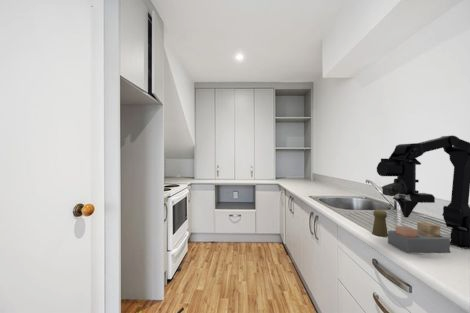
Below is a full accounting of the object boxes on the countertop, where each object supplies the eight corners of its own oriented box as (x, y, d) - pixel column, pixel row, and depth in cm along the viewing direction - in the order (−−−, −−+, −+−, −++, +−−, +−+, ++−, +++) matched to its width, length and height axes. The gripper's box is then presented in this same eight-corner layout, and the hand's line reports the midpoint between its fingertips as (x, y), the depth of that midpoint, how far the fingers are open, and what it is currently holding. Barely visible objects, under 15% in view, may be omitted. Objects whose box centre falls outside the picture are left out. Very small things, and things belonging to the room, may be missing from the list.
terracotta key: (407, 240, 92) (407, 226, 92) (417, 245, 87) (417, 229, 87) (395, 240, 91) (395, 226, 91) (405, 245, 87) (405, 229, 87)
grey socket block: (425, 242, 95) (425, 230, 95) (449, 252, 85) (449, 238, 85) (388, 243, 94) (388, 230, 94) (407, 253, 84) (407, 239, 84)
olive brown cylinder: (380, 237, 101) (380, 211, 101) (368, 233, 107) (369, 208, 107) (391, 236, 102) (391, 211, 103) (379, 232, 108) (379, 208, 108)
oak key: (428, 236, 92) (429, 222, 92) (440, 241, 87) (440, 225, 87) (417, 236, 92) (417, 222, 92) (428, 241, 87) (428, 225, 87)
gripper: (370, 174, 98) (370, 211, 98) (405, 178, 79) (405, 224, 79) (395, 174, 99) (395, 211, 99) (436, 178, 80) (436, 224, 80)
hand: (406, 217), depth 89 cm, fingers closed
